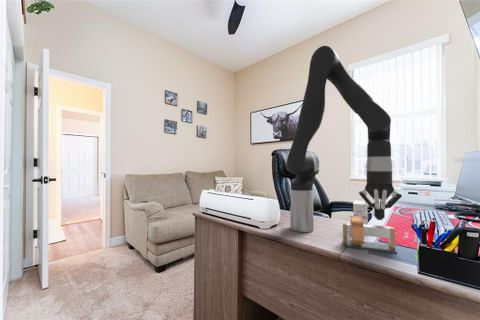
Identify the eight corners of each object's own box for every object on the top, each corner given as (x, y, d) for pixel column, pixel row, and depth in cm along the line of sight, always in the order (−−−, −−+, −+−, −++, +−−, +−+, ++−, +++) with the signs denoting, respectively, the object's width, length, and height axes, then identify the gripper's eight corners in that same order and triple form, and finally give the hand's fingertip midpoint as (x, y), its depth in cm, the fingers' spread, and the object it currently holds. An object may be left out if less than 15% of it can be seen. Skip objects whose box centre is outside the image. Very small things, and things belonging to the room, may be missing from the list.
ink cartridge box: (354, 226, 94) (353, 193, 95) (367, 228, 92) (366, 194, 92) (353, 231, 87) (352, 196, 87) (367, 233, 84) (366, 196, 85)
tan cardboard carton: (353, 243, 68) (352, 222, 68) (351, 233, 78) (350, 215, 78) (363, 244, 67) (363, 223, 67) (360, 234, 76) (359, 216, 77)
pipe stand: (343, 246, 71) (342, 225, 72) (342, 240, 77) (342, 221, 77) (397, 253, 65) (396, 230, 65) (392, 246, 71) (391, 225, 71)
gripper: (358, 170, 73) (359, 220, 72) (405, 170, 67) (406, 224, 67) (356, 169, 79) (356, 215, 79) (398, 169, 74) (399, 218, 74)
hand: (379, 219), depth 73 cm, fingers closed
